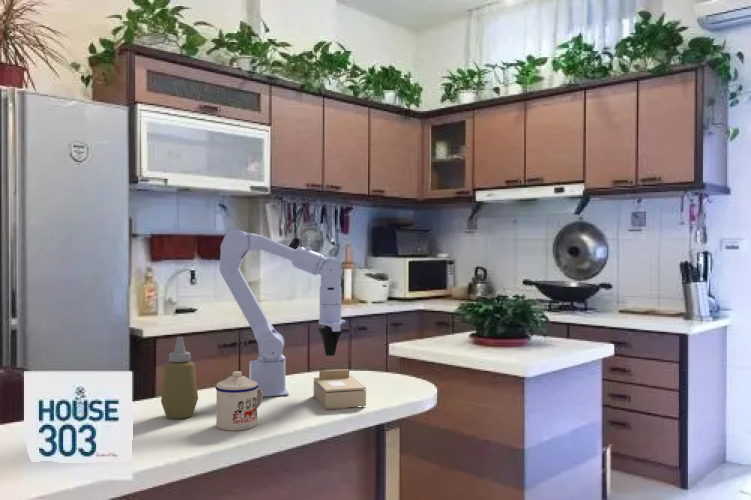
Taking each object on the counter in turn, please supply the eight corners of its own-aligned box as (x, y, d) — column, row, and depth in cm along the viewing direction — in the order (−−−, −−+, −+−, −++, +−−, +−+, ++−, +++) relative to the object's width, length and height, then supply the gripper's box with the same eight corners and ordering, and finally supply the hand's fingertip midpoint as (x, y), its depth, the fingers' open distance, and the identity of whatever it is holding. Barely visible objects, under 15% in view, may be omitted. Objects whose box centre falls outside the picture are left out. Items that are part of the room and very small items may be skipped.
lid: (313, 379, 163) (313, 369, 163) (351, 377, 166) (351, 367, 166) (325, 391, 150) (325, 381, 150) (365, 389, 153) (366, 379, 153)
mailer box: (313, 396, 163) (313, 380, 163) (350, 393, 166) (351, 378, 166) (325, 410, 150) (325, 393, 150) (365, 407, 153) (365, 390, 153)
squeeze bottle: (160, 413, 146) (160, 335, 146) (196, 410, 149) (196, 333, 149) (161, 422, 139) (161, 340, 139) (199, 419, 142) (199, 338, 141)
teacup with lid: (235, 434, 131) (235, 378, 131) (206, 426, 136) (206, 372, 136) (276, 421, 141) (276, 368, 140) (247, 414, 146) (247, 363, 146)
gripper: (352, 306, 162) (351, 359, 162) (338, 301, 175) (338, 349, 176) (325, 307, 159) (324, 360, 160) (313, 301, 173) (313, 351, 174)
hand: (330, 355), depth 168 cm, fingers closed
